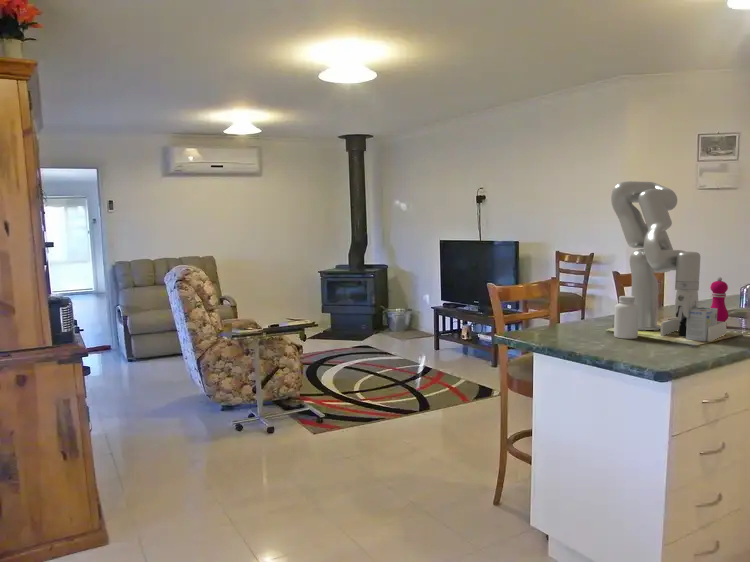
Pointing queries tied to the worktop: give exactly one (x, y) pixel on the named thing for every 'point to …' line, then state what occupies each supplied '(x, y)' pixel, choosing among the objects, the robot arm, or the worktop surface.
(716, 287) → the pepper mill
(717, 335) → the cream bay
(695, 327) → the light bulb box
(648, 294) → the robot arm
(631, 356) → the worktop surface
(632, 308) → the pill bottle
